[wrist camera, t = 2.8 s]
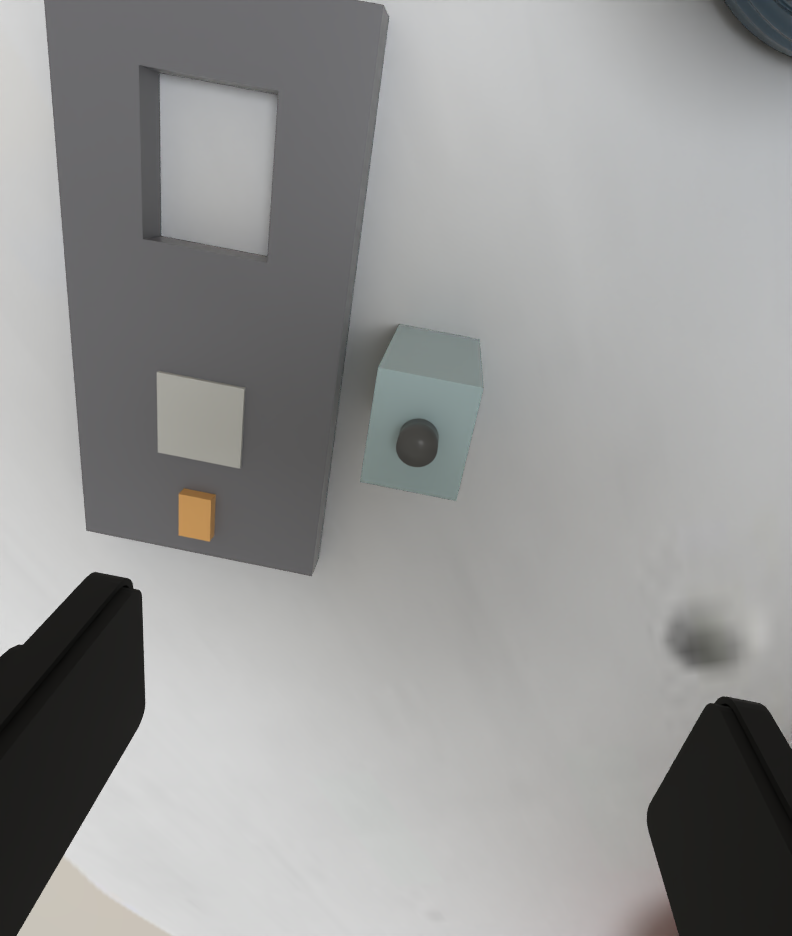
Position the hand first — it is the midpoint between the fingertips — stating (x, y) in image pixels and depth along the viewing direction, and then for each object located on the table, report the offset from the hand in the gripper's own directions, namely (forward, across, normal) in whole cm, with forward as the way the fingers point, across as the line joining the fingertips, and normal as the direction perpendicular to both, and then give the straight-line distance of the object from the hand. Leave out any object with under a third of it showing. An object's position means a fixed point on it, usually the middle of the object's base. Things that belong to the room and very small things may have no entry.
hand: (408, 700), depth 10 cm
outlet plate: (+19, +10, 0) cm, 22 cm away
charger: (+19, 0, 0) cm, 19 cm away
